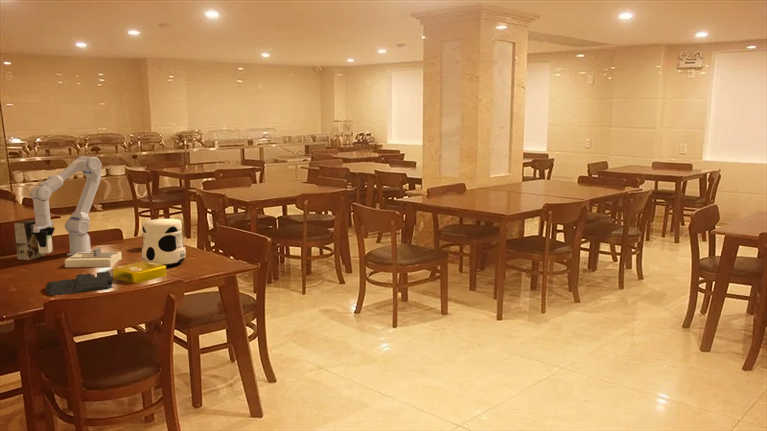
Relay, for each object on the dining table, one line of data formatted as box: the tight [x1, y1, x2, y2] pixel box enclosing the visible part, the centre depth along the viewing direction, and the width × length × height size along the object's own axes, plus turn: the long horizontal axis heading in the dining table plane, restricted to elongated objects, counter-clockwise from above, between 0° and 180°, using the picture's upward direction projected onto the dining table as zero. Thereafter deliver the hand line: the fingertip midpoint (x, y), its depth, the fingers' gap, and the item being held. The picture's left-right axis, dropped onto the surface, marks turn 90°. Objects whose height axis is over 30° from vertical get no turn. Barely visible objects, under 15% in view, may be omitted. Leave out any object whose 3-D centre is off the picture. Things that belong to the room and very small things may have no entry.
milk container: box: [141, 218, 187, 267], centre depth 259 cm, size 17×17×18 cm
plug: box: [38, 235, 54, 254], centre depth 265 cm, size 4×4×7 cm
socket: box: [64, 251, 123, 268], centre depth 262 cm, size 14×18×4 cm
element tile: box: [112, 260, 167, 284], centre depth 241 cm, size 15×15×5 cm
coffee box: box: [13, 219, 45, 261], centre depth 270 cm, size 9×6×16 cm
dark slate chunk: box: [45, 270, 114, 297], centre depth 226 cm, size 15×22×5 cm
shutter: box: [92, 247, 115, 257], centre depth 262 cm, size 6×6×3 cm
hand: (45, 245), depth 265 cm, fingers closed on plug, 4 cm apart
